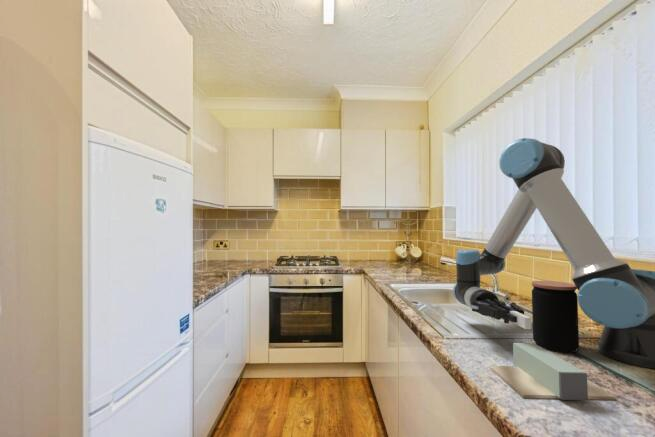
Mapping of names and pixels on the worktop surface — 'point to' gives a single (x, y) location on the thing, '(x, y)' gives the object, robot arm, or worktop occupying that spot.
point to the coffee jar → (555, 316)
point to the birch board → (534, 389)
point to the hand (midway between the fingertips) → (528, 323)
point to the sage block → (551, 371)
